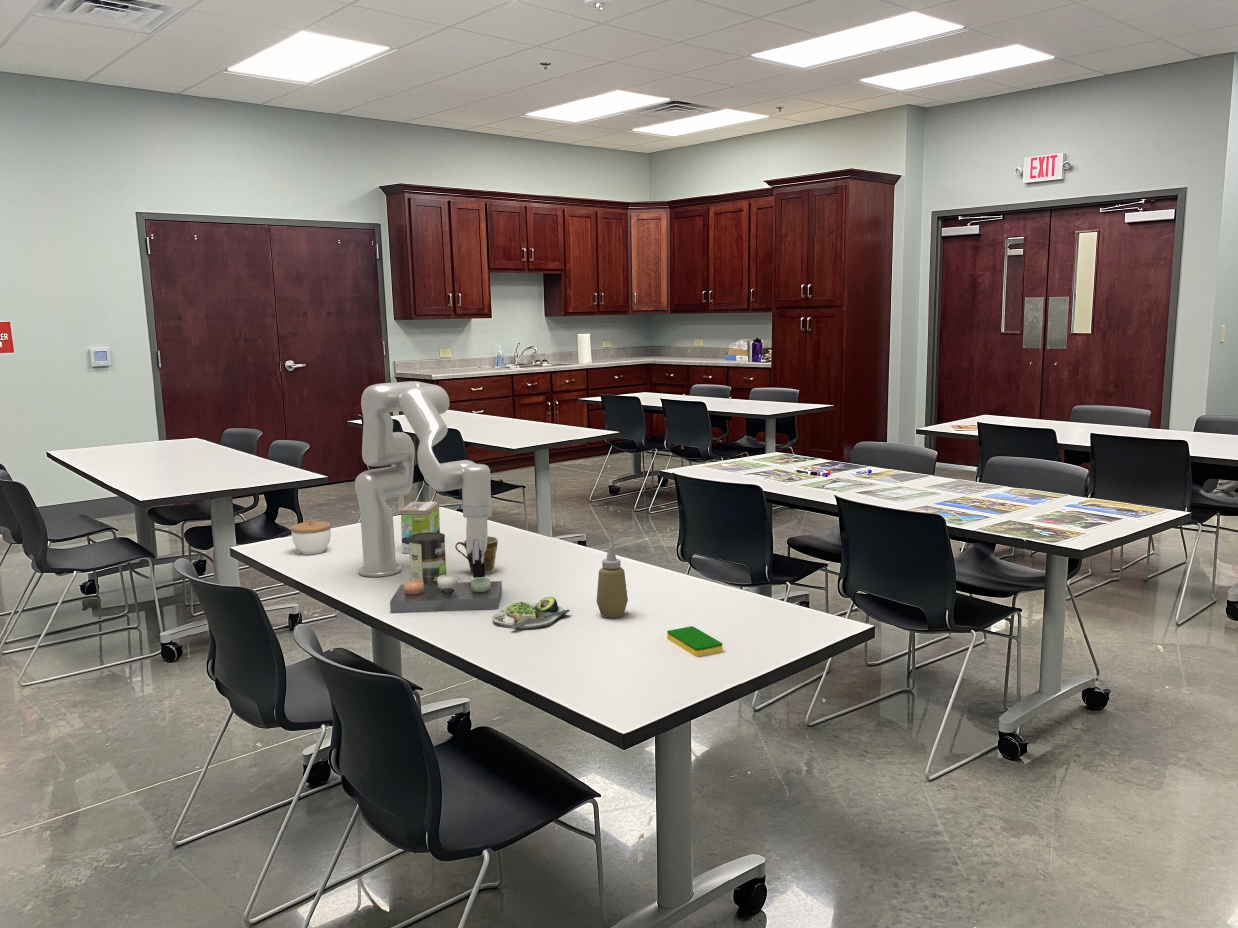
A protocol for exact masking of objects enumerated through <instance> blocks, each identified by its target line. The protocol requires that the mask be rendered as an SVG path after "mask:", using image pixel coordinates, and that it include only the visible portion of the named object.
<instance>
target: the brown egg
mask: <svg viewBox="0 0 1238 928" xmlns="http://www.w3.org/2000/svg"><path fill="white" fill-rule="evenodd" d="M403 584H404V593H405V594H420V593H422V592H424V582H423V581H419V580H413V581H412V580H408V581H406V582H404V583H403Z"/></svg>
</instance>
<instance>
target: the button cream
mask: <svg viewBox="0 0 1238 928" xmlns="http://www.w3.org/2000/svg"><path fill="white" fill-rule="evenodd" d="M437 582H438V587H439V588H443V593H452V588H453V587H456V586H457V583H458V577H457V575H456V574H446V575H441V576H439V577H437Z"/></svg>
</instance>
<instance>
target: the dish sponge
mask: <svg viewBox="0 0 1238 928" xmlns="http://www.w3.org/2000/svg"><path fill="white" fill-rule="evenodd" d="M666 632H667V634H666V635H667V636H666V639H667V640H668V641H670V642H672V643H673V644H675V645H676V646H678V647H679V648H681V649H682V650H684V651H686V652H688V653H689V654H691V655H692V656H694V657H697V658H698V657H699V658H700V657H704V656H708V655H713V654H718V653H722V652H723V650H724V649H723V642H721V641H719V640H717V639H716V638H714V637H713V636H710V635H709V634H707V633H705V632H704V631H702V630H701V629H698V628H696V627H695V626H692V625H691V626H686V627H681V628H676V629H669V630H667V631H666Z"/></svg>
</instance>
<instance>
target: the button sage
mask: <svg viewBox="0 0 1238 928" xmlns="http://www.w3.org/2000/svg"><path fill="white" fill-rule="evenodd" d="M490 581H491V579H490V578H488V577H487V578H486V577H477V578H473V579H471V580H470V582H471V590H472V591H474V592H486V591H489V590H490V589H491V583H490Z"/></svg>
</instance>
